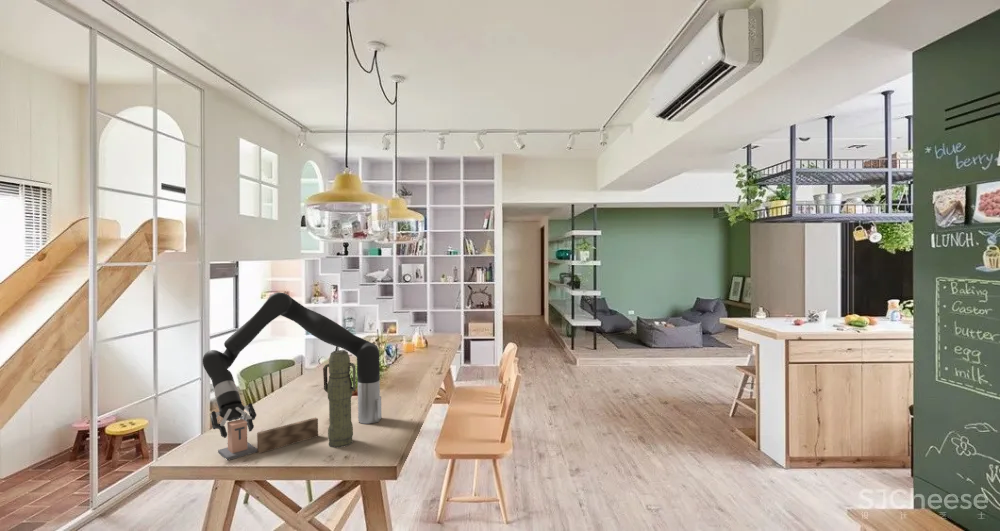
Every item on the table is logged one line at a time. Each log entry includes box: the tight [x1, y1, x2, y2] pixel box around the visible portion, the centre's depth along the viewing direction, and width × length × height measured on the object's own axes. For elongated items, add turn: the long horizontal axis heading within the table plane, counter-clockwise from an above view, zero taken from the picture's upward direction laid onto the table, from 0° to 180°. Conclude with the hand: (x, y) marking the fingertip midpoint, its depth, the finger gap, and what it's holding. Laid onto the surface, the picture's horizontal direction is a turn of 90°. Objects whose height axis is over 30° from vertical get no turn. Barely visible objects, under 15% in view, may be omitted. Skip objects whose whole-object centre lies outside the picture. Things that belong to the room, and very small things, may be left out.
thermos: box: [322, 349, 357, 448], centre depth 180 cm, size 9×12×35 cm
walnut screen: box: [256, 416, 319, 454], centre depth 180 cm, size 22×2×7 cm, turn 137°
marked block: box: [226, 419, 248, 453], centre depth 173 cm, size 5×5×10 cm
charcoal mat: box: [217, 441, 259, 461], centre depth 173 cm, size 10×10×1 cm
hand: (238, 433), depth 172 cm, fingers open, 8 cm apart
